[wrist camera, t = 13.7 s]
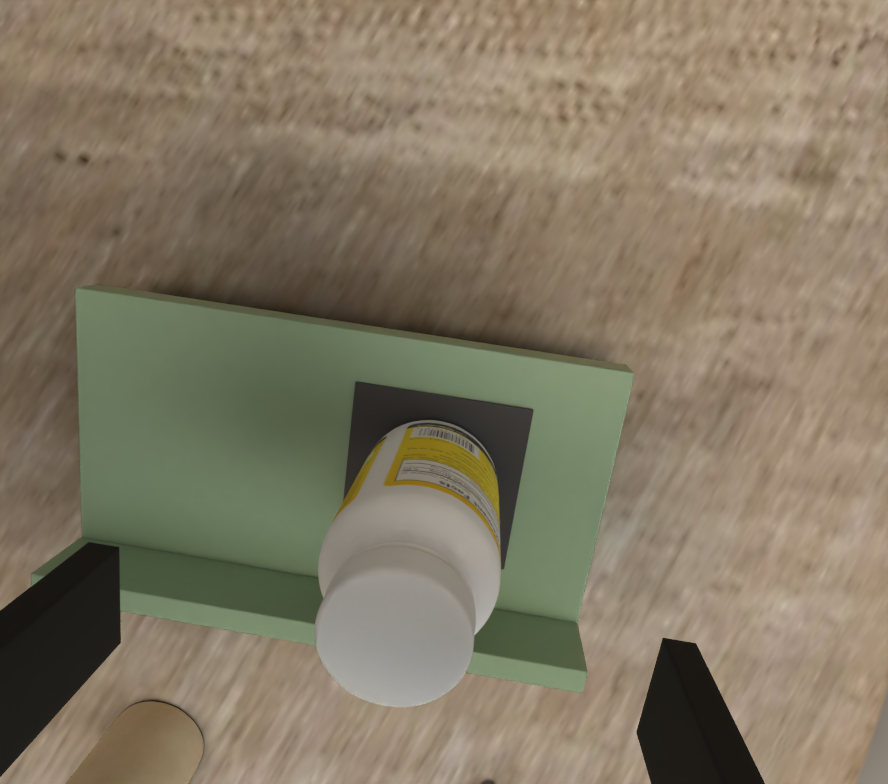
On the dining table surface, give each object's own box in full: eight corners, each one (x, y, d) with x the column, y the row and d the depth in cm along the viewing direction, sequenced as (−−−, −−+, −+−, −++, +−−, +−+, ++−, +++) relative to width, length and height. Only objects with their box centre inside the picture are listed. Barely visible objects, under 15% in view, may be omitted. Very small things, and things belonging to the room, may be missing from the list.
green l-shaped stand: (146, 277, 28) (14, 294, 21) (611, 348, 27) (656, 393, 20) (145, 507, 31) (30, 595, 24) (561, 577, 30) (583, 694, 23)
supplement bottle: (399, 558, 25) (340, 755, 16) (343, 445, 24) (243, 583, 15) (520, 515, 24) (534, 697, 15) (467, 396, 23) (446, 509, 14)
